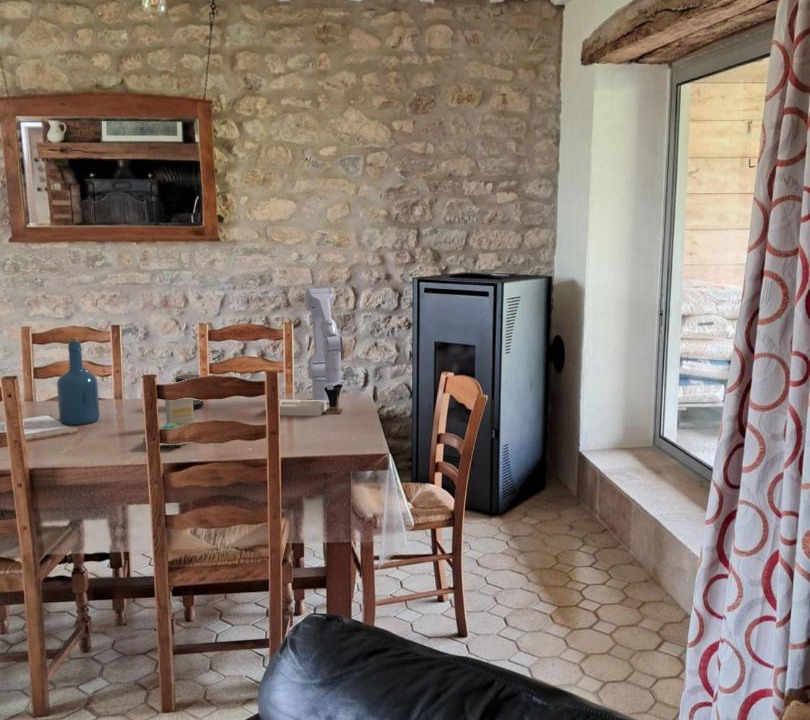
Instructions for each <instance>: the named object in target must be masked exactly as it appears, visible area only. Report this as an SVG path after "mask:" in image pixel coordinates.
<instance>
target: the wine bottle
mask: <svg viewBox="0 0 810 720" xmlns="http://www.w3.org/2000/svg"><path fill="white" fill-rule="evenodd" d="M81 345H82V344H81V340H79V338H78V336H71V337H70V338H69V341H68V350H67V351H68V358H69V359H68V360H69V361H68V362H69V364H68V365H69V370H68V371H67V372H65V373H63V374H61V376H60V377H59V378H58V379H57V382H56V389H57V391H56V392H57V403H58V414H59V416H58V417H59V422H60V423H61V422H62V423H61V424H63V423H64V424H63V425H65V424H68V425H67V426H83V425H90V424H92V423H95V422H97V421H99V419H100V417H101V416H100V402H99V401H100V399H99V386H98V379H97V377H96V375H94V374H93V373H92V372H91V371H90V370H89V369H86V368H85V367H84V365H83V363H84V362H83V358H82V357H83V356H82V351H83V349H82V346H81Z"/></svg>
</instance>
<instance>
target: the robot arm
mask: <svg viewBox="0 0 810 720" xmlns="http://www.w3.org/2000/svg"><path fill="white" fill-rule="evenodd" d="M334 296H335V295H334V290H333V289H332V287H327V288H326V287H323V288H307V289H306V291H305V306H306V310H307V311H309V312H310V313H311V317H312V320H311V321H312V331H313V333H312V334H313V349H314V351H313V352H314V354H313V355H311V356H310V357H309V358H308V360H307V375H308V378H309V379H311V381H312V382H311V383H312V385H311V387H312V399H311V400H326V404H330V407H336V404H337V397H338V396H339V397H340V395H341V394H340V393H341V391H342V388H343V384H344V383H346V382H345V380H343V379H342V351H343V348H344V343H343V338H342V337H343V336H342V335H341V333H339V331H338V327H337V324H336V323H337V322H336V321H335V320H334V319H333V317H332V312H331V306H332V305H333V302H334Z"/></svg>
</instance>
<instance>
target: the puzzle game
mask: <svg viewBox="0 0 810 720" xmlns="http://www.w3.org/2000/svg"><path fill="white" fill-rule="evenodd" d="M186 424H189V423H168V424H167V423H166V424H165V425H163V426H162V427H160V428H159V429H169V428H175V427H179V426H182V425H186ZM142 440H143V441H142V442H143V443H145V437H143V439H142ZM183 445H184V444H182V445H161V446H163V447H164V446H165V448H166V446H169V447H168V448H178V447H177V446H182V447H184V446H185V445H184V446H183ZM161 446H160V447H161ZM175 446H176V447H175ZM163 447H162V448H163Z"/></svg>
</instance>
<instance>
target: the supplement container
mask: <svg viewBox="0 0 810 720" xmlns="http://www.w3.org/2000/svg"><path fill="white" fill-rule="evenodd" d="M199 376H201V375H199V374H182V375H177V376H175V377H174V379H175V380H174V381H175V382H179V381H182V380H185V379H189V378H194V377H199ZM204 404H205V403H204V400H203V401H200V400H193V411H195V410H199V409H202V408H203V407H204Z"/></svg>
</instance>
